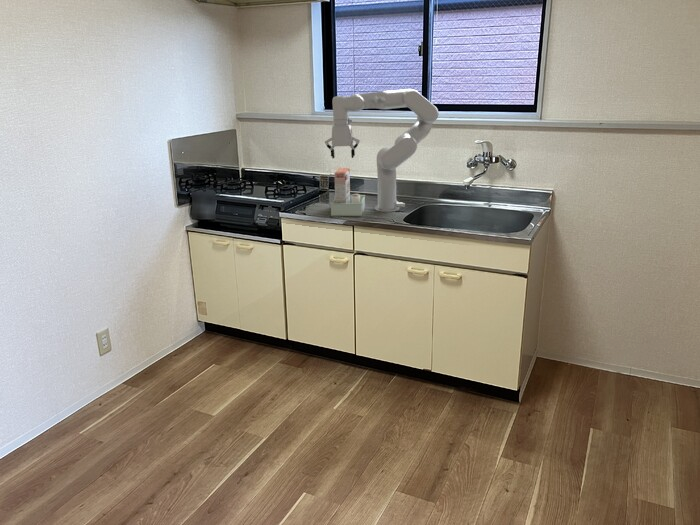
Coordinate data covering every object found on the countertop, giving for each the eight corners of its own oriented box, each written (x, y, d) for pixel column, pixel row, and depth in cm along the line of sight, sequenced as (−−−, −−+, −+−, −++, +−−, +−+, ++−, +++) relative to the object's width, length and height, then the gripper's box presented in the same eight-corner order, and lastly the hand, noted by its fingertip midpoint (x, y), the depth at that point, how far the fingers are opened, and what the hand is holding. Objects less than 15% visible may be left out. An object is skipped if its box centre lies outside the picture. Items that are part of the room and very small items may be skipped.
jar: (360, 209, 292) (360, 193, 290) (360, 212, 288) (359, 195, 285) (352, 209, 293) (351, 193, 290) (351, 211, 289) (351, 195, 286)
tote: (365, 207, 299) (365, 195, 297) (362, 216, 282) (361, 203, 279) (335, 207, 301) (335, 195, 299) (330, 216, 284) (330, 203, 281)
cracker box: (346, 214, 285) (345, 172, 277) (335, 214, 285) (333, 172, 278) (351, 207, 298) (350, 167, 291) (339, 207, 298) (338, 167, 291)
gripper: (359, 121, 279) (361, 156, 285) (324, 122, 281) (327, 157, 287) (358, 122, 272) (359, 158, 278) (322, 124, 274) (324, 159, 280)
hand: (343, 157), depth 282 cm, fingers open, 9 cm apart
